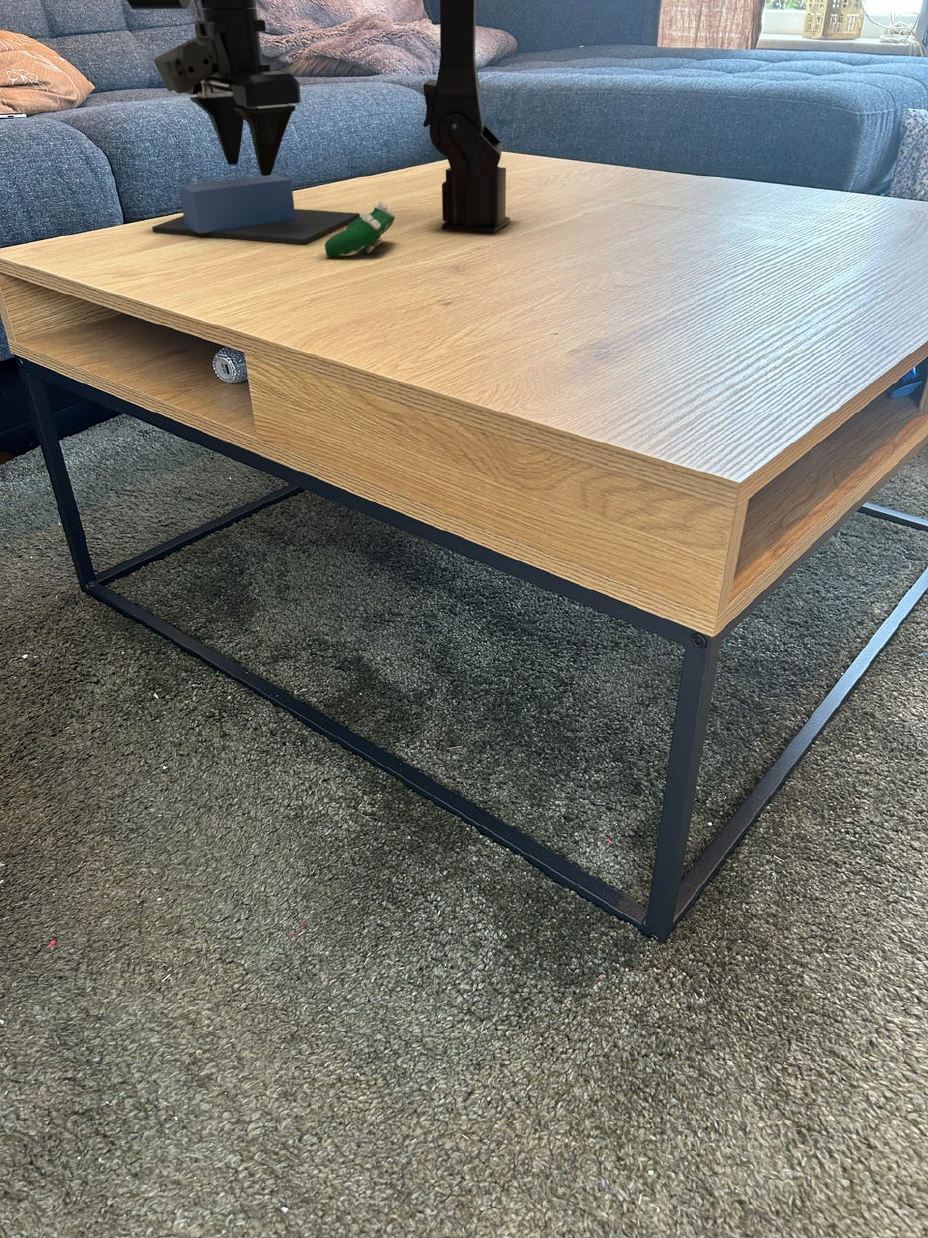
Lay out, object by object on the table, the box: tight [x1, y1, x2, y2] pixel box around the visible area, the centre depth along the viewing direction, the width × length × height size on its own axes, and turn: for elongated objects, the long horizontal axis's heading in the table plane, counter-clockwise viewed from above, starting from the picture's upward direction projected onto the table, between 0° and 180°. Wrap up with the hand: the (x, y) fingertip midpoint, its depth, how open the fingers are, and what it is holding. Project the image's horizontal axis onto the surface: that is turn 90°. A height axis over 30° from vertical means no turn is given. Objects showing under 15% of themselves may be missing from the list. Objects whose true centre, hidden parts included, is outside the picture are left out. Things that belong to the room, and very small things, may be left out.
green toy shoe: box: [324, 200, 396, 258], centre depth 103 cm, size 9×4×6 cm
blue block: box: [178, 173, 295, 233], centre depth 111 cm, size 4×4×12 cm
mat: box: [151, 208, 361, 245], centre depth 114 cm, size 20×14×1 cm
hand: (249, 169), depth 110 cm, fingers open, 9 cm apart
